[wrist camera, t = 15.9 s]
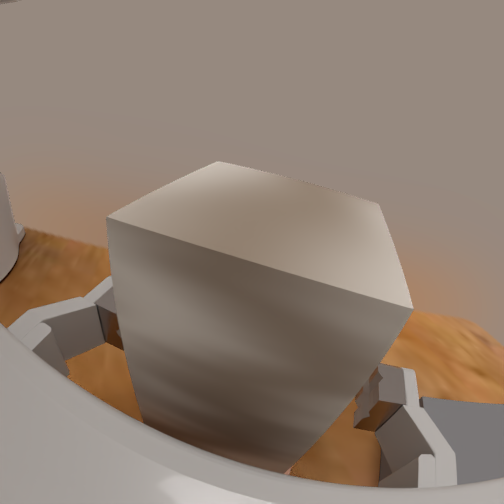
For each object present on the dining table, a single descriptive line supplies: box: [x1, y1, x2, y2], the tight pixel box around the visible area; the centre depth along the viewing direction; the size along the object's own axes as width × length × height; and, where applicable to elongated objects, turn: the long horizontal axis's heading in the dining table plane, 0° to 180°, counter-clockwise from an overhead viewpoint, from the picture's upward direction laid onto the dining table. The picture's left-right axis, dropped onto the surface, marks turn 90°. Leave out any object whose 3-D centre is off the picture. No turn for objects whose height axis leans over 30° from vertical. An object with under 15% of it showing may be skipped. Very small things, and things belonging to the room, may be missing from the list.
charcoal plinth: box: [379, 397, 504, 485], centre depth 10 cm, size 8×8×5 cm
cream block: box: [106, 161, 414, 474], centre depth 10 cm, size 5×5×14 cm
